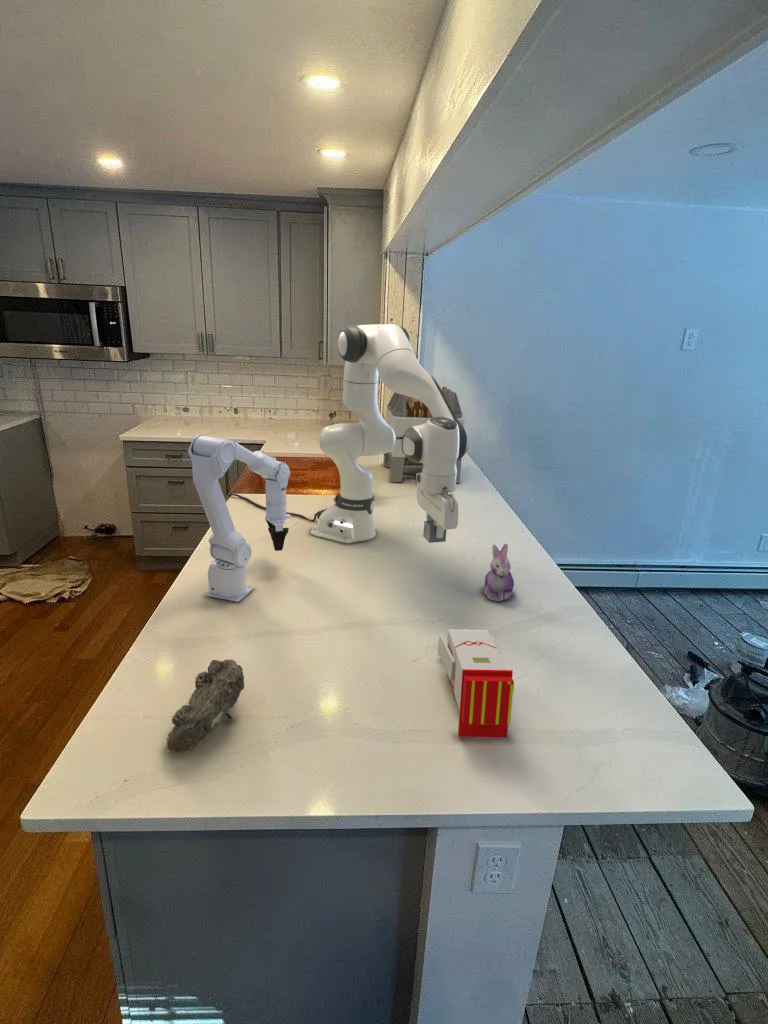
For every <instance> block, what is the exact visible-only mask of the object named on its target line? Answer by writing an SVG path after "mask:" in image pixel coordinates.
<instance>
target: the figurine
mask: <svg viewBox="0 0 768 1024" xmlns="http://www.w3.org/2000/svg"><path fill="white" fill-rule="evenodd" d="M491 547H492V548H491V549H492V560H491V562H490V571H488V572H487V573H486V574H485V577H484V587H483V592H484V595H485V596H486V597H487V598H488V600H491V601H494V602H495V601H496V602H502V601H503V600H509V598H510V597H511V596H512V594H513V590H514V587H515V581H514V577H513V574H512V572H511V567H512V566H511V563H510V560H509V558H508V549H509V545H508V544H507V543H504V544H503V545H502V547H501V549H500V550H499V548H498V546H497V545H496V544H494V543H493V544H492V546H491Z"/></svg>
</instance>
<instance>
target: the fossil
mask: <svg viewBox="0 0 768 1024" xmlns="http://www.w3.org/2000/svg"><path fill="white" fill-rule="evenodd" d="M243 670H244V669H243V667H242V665H240V664H237V662H236V661H235V660H234V659H232V658H231V659H227V658H226V659H224V660H223V661H222V660H217V659H212V660H211V661H210V663H209V665H208V666H207V671H201V672H199V673H198V674H197V675H196V676H195V680H194V684H195V685H194V687H195V689H194V690H193V693H192V694H191V697H190V698H189V700H188V704H184V705H182V706H181V707H180V709H177V710H176V711H175V713H174V715H173V716H172V718H171V723H172V724H173V727H172V730H171V731H170V732H168V734H167V738H166V741H167V742H166V745H167V749H168V750H169V751H173V752H174V753H176V754H178V753H182V752H188V751H189V752H192V751H193V750H195V748H196V747H197V746H199V744H200V743H201V742H203V741H204V740H205V739H206V738H207V737H208V736H209V735H210V734H211V733H212V732H214V730H215V729H217V727H218V726H219V724H220V722H221V721H222V720H223V719H224V718H225V716H226V717H227V719H229V720H233V717H232V715H230V714H229V710H230V709H231V708H234V706H235V704H236V703H237V702H238V699H239V697H240V695H241V693H242V691H243V690H245V689H244V688H245V675H244V671H243Z"/></svg>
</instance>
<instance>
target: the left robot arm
mask: <svg viewBox="0 0 768 1024" xmlns="http://www.w3.org/2000/svg"><path fill="white" fill-rule="evenodd" d="M187 453H188V456H189V459H190V461H191V468H192V470H191V471H192V481H193V484H194V487H195V490H196V492H197V495H198V497H199V500H200V502H201V505H202V508H203V510H204V514H205V516H206V518H207V521H208V523H209V526H210V529H211V531H212V535H210V537H209V538H208V543H209V554H210V556H211V558H212V559H214V560H213V561H212V562H211V563H210V564H209V566H208V570H207V583H208V593H207V596H208V597H211V598H217V599H221V600H226V601H231V602H236V603H238V602H240V601H241V600H243V598H245V597H246V596H247V595H248V594H249V593H250V592H252V591H253V590H254V588H253V587H252V586H247V571H246V565H248V563H249V562H250V560H251V558H252V547H251V545H250V544H248V543H247V541H246V538H245V537H244V536H243V535H241V533H240V532H238V531H237V530H236V528H235V525H234V522H233V519H232V515H231V514H230V510H229V507H228V504H227V502H226V499H225V496H224V493H223V491H222V487H221V485H220V482H219V479H221V478H223V477H224V476H225V474H226V473H227V471H228V469H230V466H231V465H232V463H233V462H234V461H239V462H242V463H244V464H246V466H247V468H248V470H249V471H250V472H253V473H255V474H257V475H259V476H260V477H261V478H262V479H263V480H264V479H265V480H264V481H265V482H264V483H265V485H264V486H265V507H266V509H265V516H264V520H265V522H266V524H267V525H268V527H267V530H268V533H269V535H270V538H271V541H272V545H273V548H274V551H275V552H277V551H278V552H281V551H283V549H284V545H285V540H286V537H287V535H288V533H289V531H290V529H289V527H284V525H285V522H286V521H287V520H288V519H291V515H290V514H286V512H287V487H288V486H289V485H288V484H289V482H288V481H289V478H290V476H291V470H290V468H289V465H287V463H286V462H284V461H279V460H277V458H276V457H275V456H270V455H268V454H267V451H266V450H261V449H260V450H255V451H251V450H249V449H248V448H246V447H244V446H243V445H241V444H239V443H238V442H237V441H233V440H231V439H229V438H225V439H224V438H219V437H212V436H209V435H205V434H198V435H195V436H194V437H193V439H192V440H191V443H190V445H189V447H188V450H187Z"/></svg>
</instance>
